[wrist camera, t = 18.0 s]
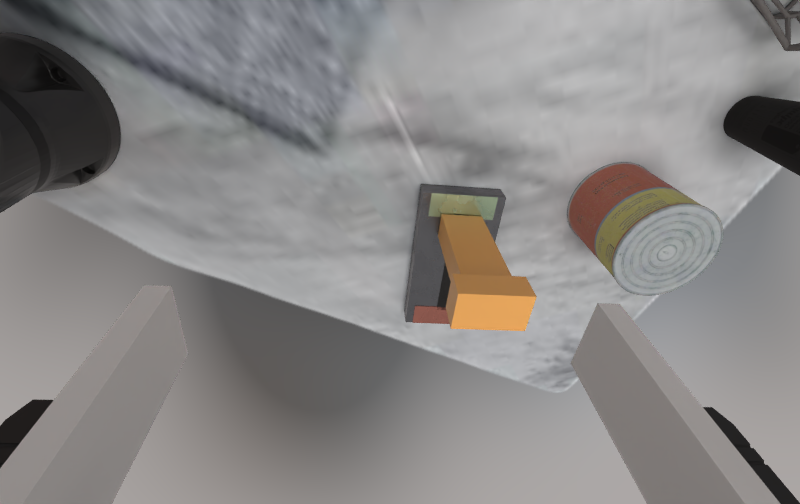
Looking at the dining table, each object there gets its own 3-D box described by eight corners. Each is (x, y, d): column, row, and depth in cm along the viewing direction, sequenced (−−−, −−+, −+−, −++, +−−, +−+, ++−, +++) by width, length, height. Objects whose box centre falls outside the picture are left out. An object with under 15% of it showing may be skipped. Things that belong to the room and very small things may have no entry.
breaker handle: (484, 241, 52) (524, 330, 38) (429, 238, 51) (450, 328, 37) (490, 213, 50) (536, 296, 36) (433, 209, 49) (458, 293, 35)
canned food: (567, 249, 56) (610, 305, 46) (566, 174, 50) (615, 219, 40) (650, 230, 56) (713, 283, 45) (659, 152, 50) (733, 192, 40)
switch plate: (470, 312, 61) (474, 324, 59) (404, 310, 60) (405, 322, 58) (500, 189, 51) (506, 198, 49) (421, 183, 50) (423, 192, 48)
